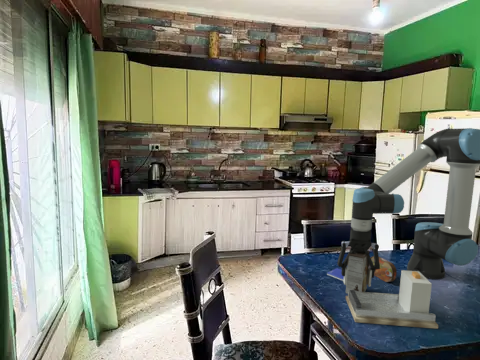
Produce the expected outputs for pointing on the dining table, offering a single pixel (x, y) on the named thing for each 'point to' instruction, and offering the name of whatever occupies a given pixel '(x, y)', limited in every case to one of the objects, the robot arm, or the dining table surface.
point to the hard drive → (336, 274)
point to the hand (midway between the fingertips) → (356, 284)
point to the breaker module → (414, 292)
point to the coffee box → (357, 272)
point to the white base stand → (384, 307)
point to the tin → (385, 270)
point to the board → (391, 322)
